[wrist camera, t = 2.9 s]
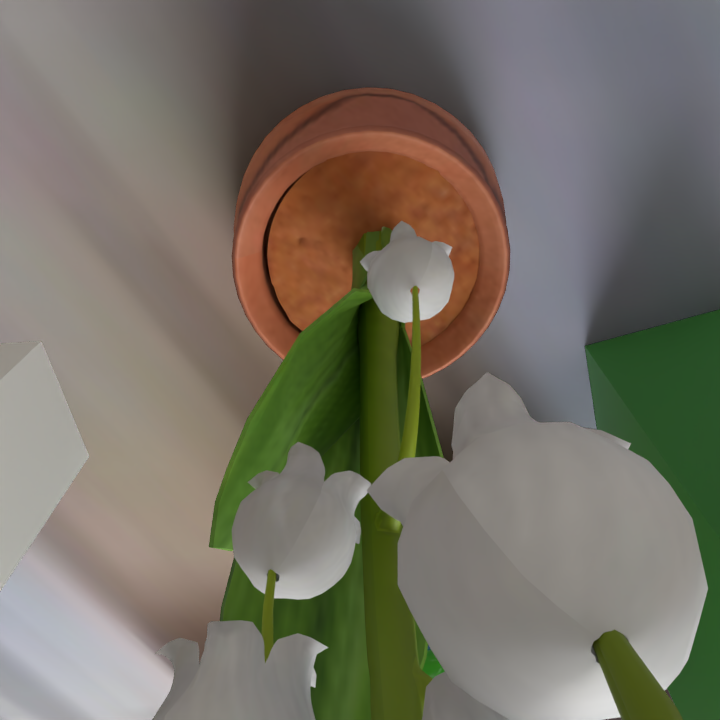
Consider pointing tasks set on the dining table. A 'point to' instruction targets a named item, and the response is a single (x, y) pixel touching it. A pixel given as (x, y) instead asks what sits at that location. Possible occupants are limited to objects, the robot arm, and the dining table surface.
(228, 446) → the dining table surface
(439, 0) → the dining table surface
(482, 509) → the potted flower
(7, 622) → the dining table surface
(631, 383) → the hardback book
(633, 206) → the dining table surface
